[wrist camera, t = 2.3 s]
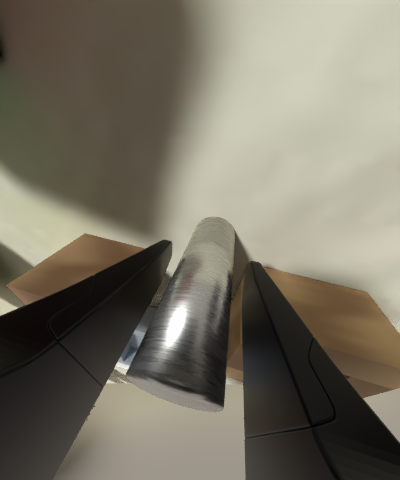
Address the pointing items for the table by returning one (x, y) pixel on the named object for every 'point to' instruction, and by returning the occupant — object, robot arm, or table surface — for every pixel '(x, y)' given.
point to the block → (70, 266)
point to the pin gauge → (191, 325)
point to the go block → (333, 331)
